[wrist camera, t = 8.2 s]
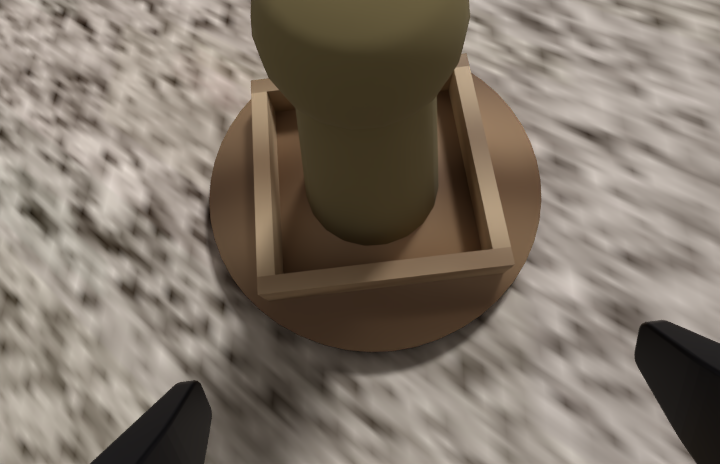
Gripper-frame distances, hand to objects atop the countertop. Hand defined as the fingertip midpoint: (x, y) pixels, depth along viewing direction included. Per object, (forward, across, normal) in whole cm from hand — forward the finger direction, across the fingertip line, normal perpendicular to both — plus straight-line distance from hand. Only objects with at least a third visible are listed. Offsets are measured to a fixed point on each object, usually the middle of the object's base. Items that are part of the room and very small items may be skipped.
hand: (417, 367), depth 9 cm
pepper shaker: (+12, 0, 0) cm, 12 cm away
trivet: (+12, 0, +1) cm, 12 cm away
